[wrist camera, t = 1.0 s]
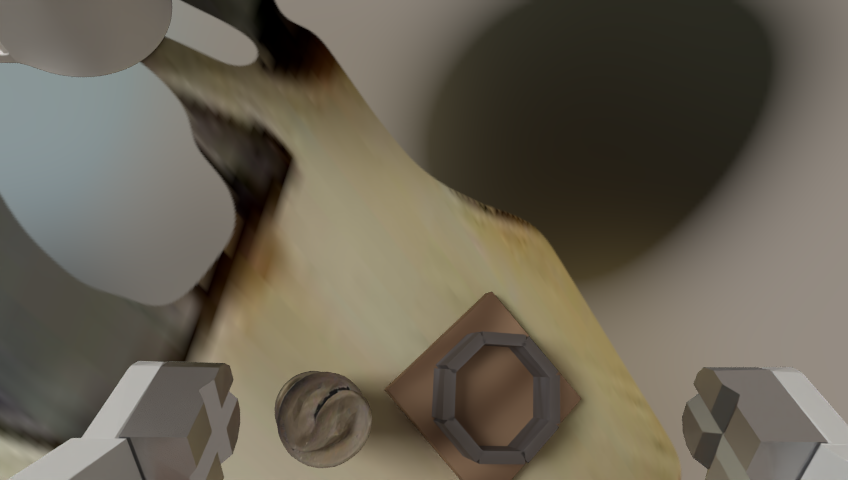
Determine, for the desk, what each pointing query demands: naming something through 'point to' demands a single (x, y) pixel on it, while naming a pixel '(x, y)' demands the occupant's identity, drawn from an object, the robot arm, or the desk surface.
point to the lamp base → (484, 394)
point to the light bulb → (322, 418)
